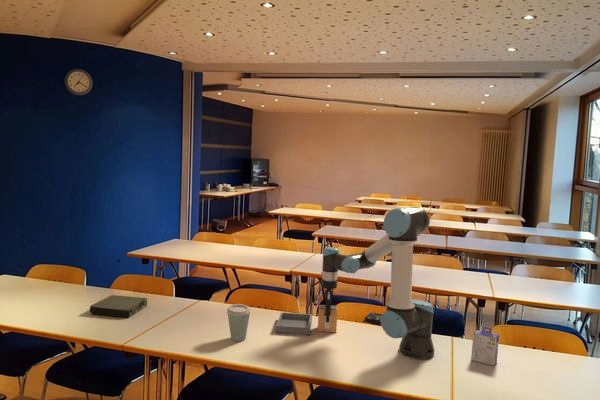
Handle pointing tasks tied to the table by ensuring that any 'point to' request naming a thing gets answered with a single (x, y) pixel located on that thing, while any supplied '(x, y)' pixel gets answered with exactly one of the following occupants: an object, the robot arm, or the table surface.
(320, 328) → the toner caddy
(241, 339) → the disposable coffee cup
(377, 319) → the disk drive
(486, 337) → the ink cartridge box
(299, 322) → the tray
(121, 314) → the network switch
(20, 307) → the table surface
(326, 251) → the robot arm
